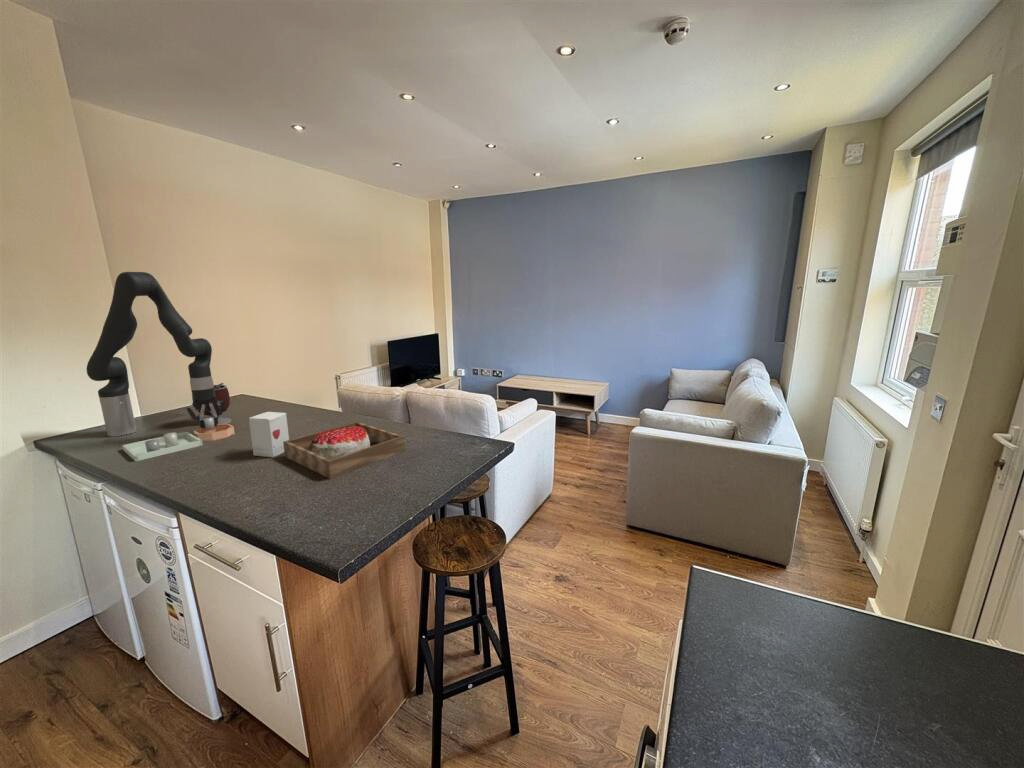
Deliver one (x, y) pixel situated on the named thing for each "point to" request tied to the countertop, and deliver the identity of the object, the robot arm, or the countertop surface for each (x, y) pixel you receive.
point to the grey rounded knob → (152, 445)
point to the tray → (161, 446)
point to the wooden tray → (347, 463)
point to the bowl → (214, 432)
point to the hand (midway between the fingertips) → (209, 426)
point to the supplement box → (268, 433)
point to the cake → (339, 442)
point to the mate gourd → (220, 395)
